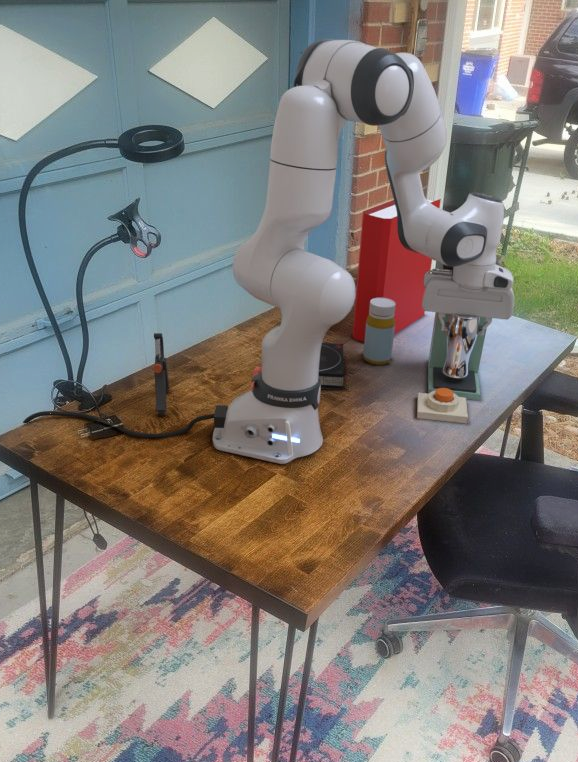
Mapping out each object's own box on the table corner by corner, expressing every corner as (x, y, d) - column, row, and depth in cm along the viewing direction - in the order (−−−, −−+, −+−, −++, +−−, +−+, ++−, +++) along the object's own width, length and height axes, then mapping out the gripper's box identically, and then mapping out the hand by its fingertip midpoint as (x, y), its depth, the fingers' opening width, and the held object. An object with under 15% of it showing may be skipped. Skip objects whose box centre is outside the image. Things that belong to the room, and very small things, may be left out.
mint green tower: (426, 394, 170) (444, 280, 153) (426, 361, 184) (442, 253, 168) (480, 400, 169) (503, 286, 153) (476, 366, 184) (497, 259, 168)
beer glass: (468, 381, 168) (480, 320, 159) (438, 376, 169) (449, 315, 160) (470, 368, 174) (482, 309, 165) (441, 364, 175) (451, 304, 166)
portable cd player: (271, 387, 167) (271, 371, 165) (276, 355, 181) (276, 340, 179) (342, 391, 168) (343, 375, 166) (341, 358, 182) (343, 344, 179)
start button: (434, 402, 161) (435, 395, 160) (434, 393, 164) (435, 386, 163) (452, 404, 160) (453, 397, 159) (452, 395, 164) (453, 388, 163)
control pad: (416, 418, 161) (419, 404, 158) (417, 399, 168) (419, 385, 166) (466, 423, 160) (469, 409, 158) (464, 404, 167) (467, 390, 165)
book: (400, 308, 212) (414, 192, 192) (424, 315, 208) (440, 198, 189) (349, 337, 193) (359, 212, 173) (375, 346, 189) (388, 219, 170)
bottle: (376, 368, 179) (382, 310, 170) (357, 357, 183) (362, 300, 174) (396, 361, 183) (403, 304, 174) (377, 351, 187) (383, 294, 178)
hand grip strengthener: (155, 418, 153) (149, 352, 144) (159, 390, 163) (153, 327, 154) (167, 418, 153) (161, 352, 144) (169, 390, 163) (164, 327, 154)
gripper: (425, 272, 155) (416, 333, 163) (520, 282, 154) (507, 342, 163) (425, 263, 160) (417, 322, 168) (517, 272, 159) (505, 331, 168)
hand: (462, 332), depth 166 cm, fingers closed on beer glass, 7 cm apart
